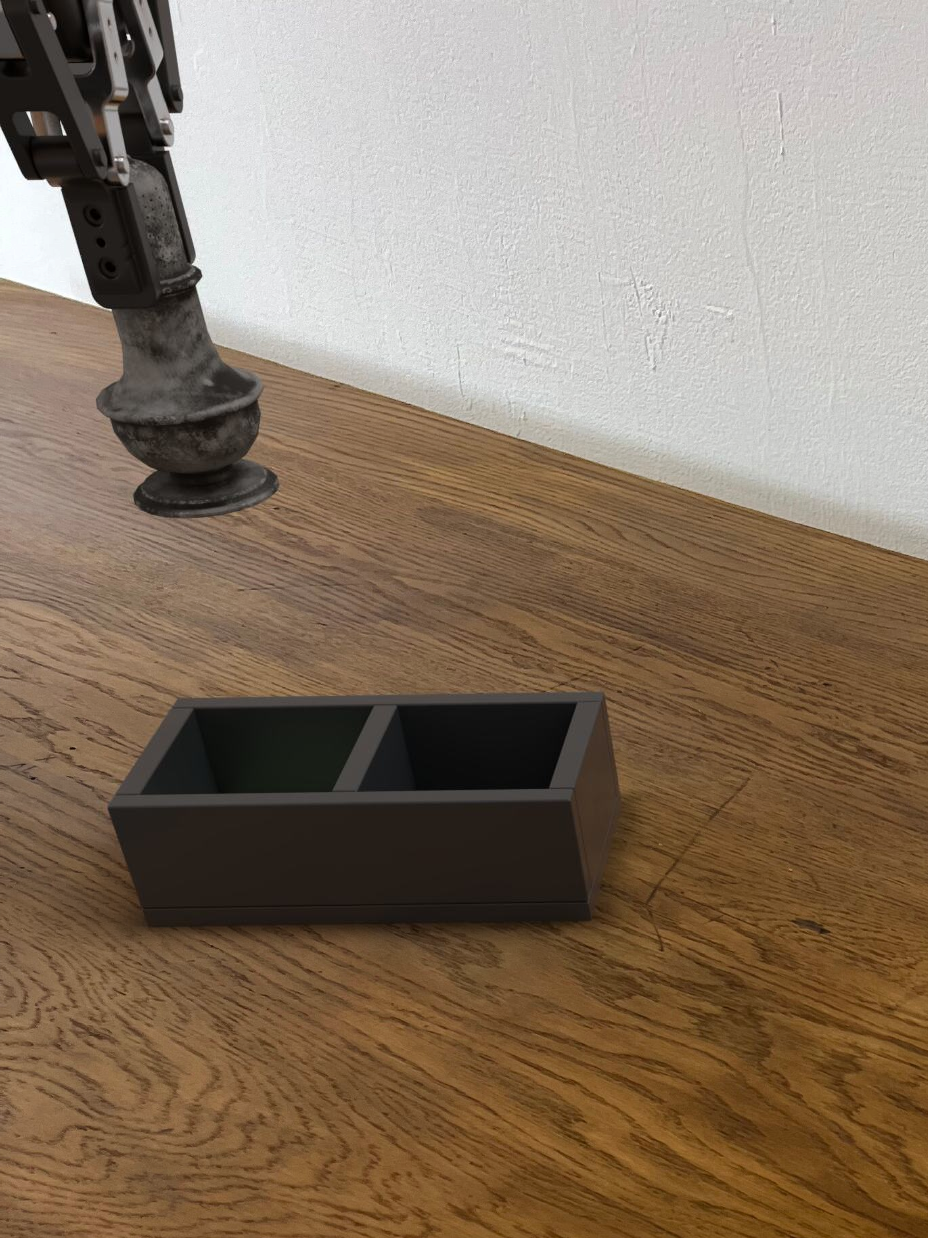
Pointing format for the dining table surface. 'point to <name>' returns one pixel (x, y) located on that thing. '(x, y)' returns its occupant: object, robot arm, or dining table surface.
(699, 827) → the dining table surface
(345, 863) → the divided open box
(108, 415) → the salt shaker
